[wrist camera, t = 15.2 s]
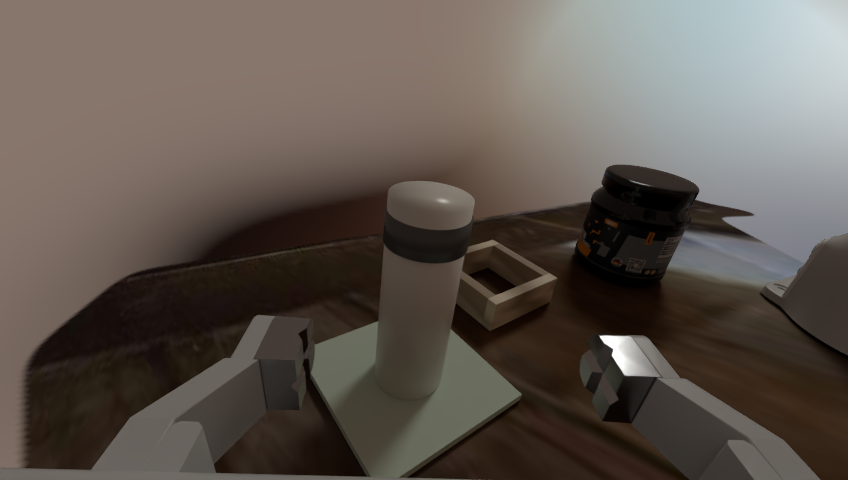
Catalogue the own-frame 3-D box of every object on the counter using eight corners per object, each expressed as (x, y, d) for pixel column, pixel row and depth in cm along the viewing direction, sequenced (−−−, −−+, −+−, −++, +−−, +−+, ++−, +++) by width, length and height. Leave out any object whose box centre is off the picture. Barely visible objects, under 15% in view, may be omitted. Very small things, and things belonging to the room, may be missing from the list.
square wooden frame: (488, 261, 45) (493, 239, 44) (549, 302, 39) (557, 278, 38) (429, 281, 40) (432, 257, 39) (489, 331, 34) (496, 304, 32)
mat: (422, 309, 36) (423, 304, 35) (519, 400, 27) (521, 394, 27) (298, 357, 29) (298, 351, 28) (378, 496, 21) (378, 490, 20)
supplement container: (575, 239, 54) (603, 157, 48) (656, 261, 50) (696, 176, 45) (567, 272, 45) (600, 177, 39) (665, 302, 41) (715, 202, 36)
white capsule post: (415, 338, 31) (438, 177, 25) (457, 381, 27) (495, 205, 21) (360, 362, 28) (369, 185, 22) (398, 414, 24) (423, 220, 18)
